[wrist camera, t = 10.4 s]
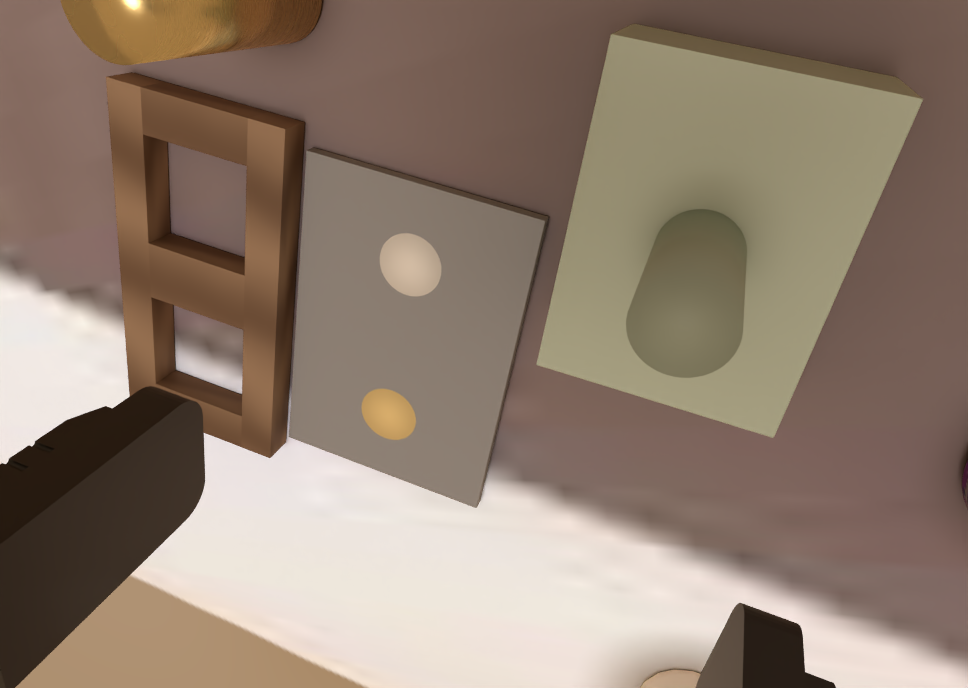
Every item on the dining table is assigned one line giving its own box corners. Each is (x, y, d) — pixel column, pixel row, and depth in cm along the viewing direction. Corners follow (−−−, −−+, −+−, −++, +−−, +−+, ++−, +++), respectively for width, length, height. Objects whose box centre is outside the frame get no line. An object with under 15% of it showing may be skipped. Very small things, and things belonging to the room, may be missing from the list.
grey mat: (313, 147, 33) (306, 150, 32) (548, 216, 31) (545, 221, 30) (294, 431, 41) (288, 437, 40) (480, 500, 39) (476, 508, 38)
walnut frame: (132, 72, 34) (106, 76, 33) (304, 122, 32) (285, 129, 31) (150, 390, 43) (130, 403, 42) (286, 442, 41) (269, 458, 40)
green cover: (634, 23, 27) (567, 54, 17) (895, 76, 25) (976, 142, 16) (565, 313, 33) (487, 451, 23) (771, 373, 31) (776, 549, 22)
